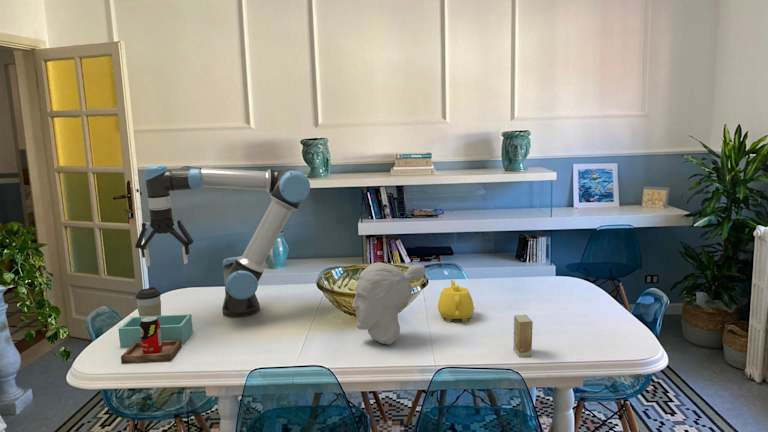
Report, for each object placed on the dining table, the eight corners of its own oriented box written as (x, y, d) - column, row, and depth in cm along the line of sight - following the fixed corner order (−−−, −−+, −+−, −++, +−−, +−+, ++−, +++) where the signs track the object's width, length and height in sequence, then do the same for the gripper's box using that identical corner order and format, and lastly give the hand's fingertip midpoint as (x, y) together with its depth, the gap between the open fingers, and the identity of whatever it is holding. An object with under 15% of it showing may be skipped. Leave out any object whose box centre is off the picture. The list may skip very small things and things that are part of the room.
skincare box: (512, 349, 187) (513, 314, 185) (525, 348, 187) (526, 313, 185) (519, 357, 180) (519, 321, 178) (532, 356, 181) (532, 320, 179)
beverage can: (147, 348, 195) (144, 315, 192) (165, 348, 194) (162, 315, 192) (139, 356, 188) (135, 322, 186) (157, 355, 188) (154, 321, 186)
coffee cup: (155, 331, 213) (151, 293, 210) (133, 330, 215) (129, 292, 212) (168, 323, 222) (164, 286, 219) (148, 322, 223) (144, 285, 221)
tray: (181, 346, 198) (181, 339, 197) (170, 361, 186) (170, 354, 186) (135, 348, 197) (134, 342, 197) (121, 363, 185) (120, 356, 185)
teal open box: (193, 331, 212) (191, 314, 210) (183, 344, 200) (181, 325, 198) (133, 334, 210) (131, 316, 209) (120, 347, 199) (118, 328, 197)
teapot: (439, 325, 210) (439, 293, 208) (436, 308, 230) (435, 278, 227) (476, 325, 209) (476, 292, 207) (469, 307, 229) (469, 277, 227)
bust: (351, 335, 203) (348, 260, 198) (421, 328, 207) (420, 255, 203) (356, 351, 189) (352, 271, 184) (431, 344, 193) (430, 265, 188)
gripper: (197, 204, 209) (203, 259, 213) (128, 208, 207) (136, 264, 211) (192, 207, 201) (199, 264, 205) (121, 212, 199) (128, 269, 203)
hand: (167, 264), depth 208 cm, fingers open, 13 cm apart
